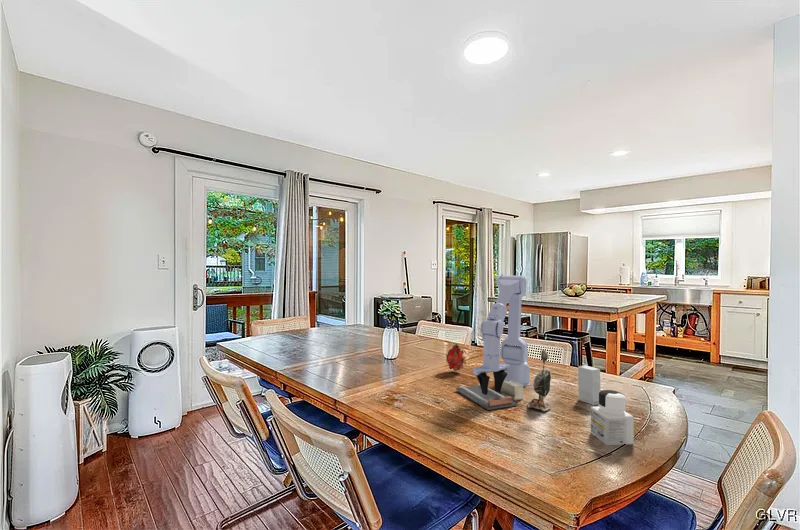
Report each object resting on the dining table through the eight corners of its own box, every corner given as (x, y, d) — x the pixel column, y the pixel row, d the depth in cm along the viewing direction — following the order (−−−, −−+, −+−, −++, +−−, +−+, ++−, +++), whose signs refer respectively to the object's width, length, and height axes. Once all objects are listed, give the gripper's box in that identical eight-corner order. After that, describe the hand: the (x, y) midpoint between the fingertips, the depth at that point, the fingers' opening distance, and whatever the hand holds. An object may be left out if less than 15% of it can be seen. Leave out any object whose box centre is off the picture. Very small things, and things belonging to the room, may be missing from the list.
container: (590, 433, 111) (590, 387, 111) (615, 432, 112) (616, 387, 112) (606, 445, 104) (607, 397, 103) (633, 445, 104) (634, 396, 104)
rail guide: (482, 386, 151) (482, 379, 151) (517, 405, 132) (517, 397, 132) (455, 389, 147) (455, 383, 147) (487, 410, 127) (487, 402, 127)
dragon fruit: (461, 375, 166) (461, 347, 166) (442, 372, 170) (443, 345, 170) (468, 370, 173) (468, 343, 173) (450, 367, 177) (450, 341, 177)
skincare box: (601, 403, 134) (601, 369, 134) (592, 405, 132) (593, 370, 132) (585, 398, 140) (586, 364, 140) (577, 400, 138) (577, 366, 138)
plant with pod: (558, 405, 132) (559, 346, 132) (544, 414, 124) (545, 352, 124) (535, 399, 138) (536, 343, 138) (520, 407, 130) (521, 348, 130)
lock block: (508, 392, 145) (508, 379, 145) (523, 398, 139) (523, 384, 139) (500, 394, 143) (500, 380, 143) (514, 400, 137) (514, 386, 137)
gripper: (500, 349, 142) (499, 386, 143) (467, 353, 136) (467, 392, 136) (513, 354, 136) (513, 392, 136) (480, 358, 130) (479, 398, 130)
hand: (491, 392), depth 136 cm, fingers open, 5 cm apart
